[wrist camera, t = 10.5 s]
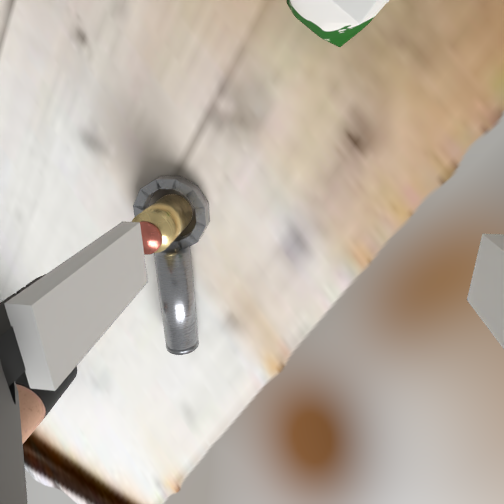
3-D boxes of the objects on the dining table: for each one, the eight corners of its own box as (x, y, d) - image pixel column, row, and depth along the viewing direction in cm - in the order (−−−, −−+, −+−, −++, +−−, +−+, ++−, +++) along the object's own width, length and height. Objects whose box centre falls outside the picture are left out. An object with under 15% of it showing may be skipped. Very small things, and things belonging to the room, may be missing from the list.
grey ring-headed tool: (136, 175, 48) (119, 183, 44) (206, 176, 47) (196, 184, 43) (157, 333, 57) (145, 352, 53) (217, 337, 56) (209, 357, 52)
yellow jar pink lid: (154, 193, 49) (119, 216, 40) (191, 194, 48) (163, 218, 39) (158, 228, 51) (126, 258, 42) (193, 230, 50) (168, 260, 41)
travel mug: (66, 390, 65) (-30, 507, 47) (28, 364, 64) (-86, 473, 45) (87, 366, 62) (-7, 480, 44) (47, 337, 61) (-65, 443, 43)
